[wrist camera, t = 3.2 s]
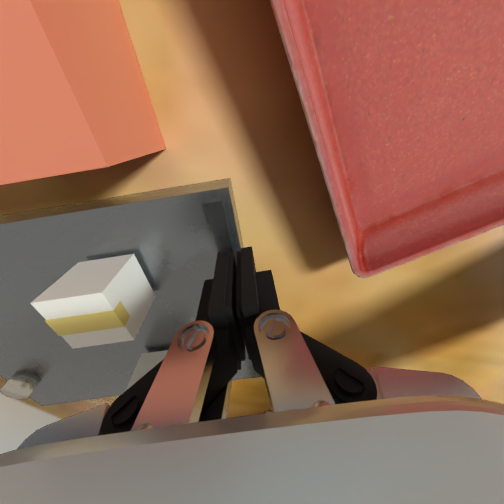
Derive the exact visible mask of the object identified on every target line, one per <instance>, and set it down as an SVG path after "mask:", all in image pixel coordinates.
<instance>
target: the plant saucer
mask: <svg viewBox="0 0 504 504" xmlns="http://www.w3.org/2000/svg"><path fill="white" fill-rule="evenodd" d="M270 3H271V6H272V10H273V13H274V16H275V19H276V23H277V26H278V29H279V33H280V36H281V39H282V43H283V46H284V49H285V52H286V55H287V58H288V61H289V64H290V68H291V72H292V75H293V78H294V81H295V84H296V87H297V90H298V94H299V97H300V100H301V104H302V107H303V111H304V114H305V117H306V121H307V124H308V127H309V130H310V134H311V137H312V140H313V143H314V147H315V150H316V154H317V157H318V160H319V163H320V166H321V170H322V173H323V177H324V180H325V183H326V186H327V189H328V193H329V196H330V200H331V203H332V206H333V209H334V213H335V216H336V219H337V222H338V225H339V229H340V233H341V236H342V239H343V242H344V246H345V249H346V253H347V256H348V259H349V263H350V266H351V269H352V271H353V273H354V274H356V275H357V276H358V277H361V278H367V277H370V276H373V275H376V274H378V273H381V272H384V271H386V270H389V269H391V268H394V267H396V266H399V265H402V264H405V263H407V262H410V261H413V260H415V259H417V258H420V257H422V256H425V255H427V254H430V253H432V252H435V251H438V250H440V249H443V248H446V247H448V246H450V245H453V244H455V243H458V242H460V241H463V240H466V239H469V238H471V237H474V236H477V235H479V234H482V233H485V232H487V231H489V230H491V229H494V228H496V227H499V226H502V225H504V0H270Z"/></svg>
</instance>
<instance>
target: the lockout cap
mask: <svg viewBox="0 0 504 504" xmlns="http://www.w3.org/2000/svg"><path fill="white" fill-rule="evenodd" d="M164 149H166V147H165V144H164V141H163V138H162V135H161V132H160V128H159V125H158V122H157V119H156V116H155V113H154V110H153V107H152V104H151V101H150V97H149V94H148V91H147V88H146V85H145V82H144V79H143V76H142V73H141V69H140V66H139V63H138V60H137V57H136V54H135V51H134V48H133V45H132V41H131V38H130V35H129V32H128V29H127V26H126V23H125V20H124V17H123V14H122V10H121V7H120V4H119V1H118V0H0V185H3V184H9V183H15V182H21V181H27V180H33V179H39V178H45V177H51V176H57V175H63V174H69V173H75V172H81V171H87V170H93V169H98V168H104V167H109V166H112V165H116V164H119V163H122V162H125V161H129V160H132V159H135V158H138V157H141V156H145V155H148V154H151V153H154V152H158V151H161V150H164Z"/></svg>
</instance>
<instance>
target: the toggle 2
mask: <svg viewBox="0 0 504 504" xmlns="http://www.w3.org/2000/svg"><path fill="white" fill-rule="evenodd" d="M167 352H168V350H164V351H157V352H150V353H143V354H141V356H140V358H139V360H138V363H137V365H136V367H135V370H134V372H133V374H132V376H131V379H130V381H129V383H128V386H127V388H126V390H127V389H129V388H130V387H131V386H132V385H133V384H135V383H136V382H137V381H138V380H139V379H140V378H142V377H143V376H144V375H145V374H146V373H148V372H149V371H150V370H151V369H152V368H153V367H155V366H156V365H157V364H158V363H159V362H161V361H162V360H163V359H164V358H165V356H166V354H167ZM126 390H125V391H126Z"/></svg>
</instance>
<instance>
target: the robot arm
mask: <svg viewBox="0 0 504 504" xmlns="http://www.w3.org/2000/svg"><path fill="white" fill-rule="evenodd" d="M245 346H246V350H247V354H248V357H249V360H251V361H252V365H253V369H254V371H256V372H257V373H258V374H259V375H261V376H262V377H263V378H264V380H265V384H266V388H267V392H268V396H269V400H270V404H271V408H272V413H264V414H256V415H249V416H241V417H233V418H226V417H227V411H228V405H229V399H230V393H231V387H232V380H231V379H232V378H233V377H234V376H235V374H236V373H237V370H241V361H245V360H246V353H245ZM0 504H504V404H501V403H498V402H493V401H488V400H482V398H481V397H480V396H479V395H478V394H477V392H476V391H475V390H474V389H473V388H472V387H471V386H469V385H468V384H467V383H465V382H464V381H463V380H461V379H458V378H456V377H454V376H452V375H449V374H445V373H439V372H428V371H417V370H406V369H395V368H385V367H374V370H372V369H365V368H363V367H362V366H361V365H359V364H358V363H356V362H354V361H352V360H351V359H349V358H347V357H345V356H343V355H342V354H340V353H338V352H336V351H334V350H333V349H331V348H329V347H327V346H325V345H324V344H322V343H320V342H318V341H316V340H315V339H313V338H311V337H309V336H308V335H306V334H304V333H302V332H300V331H299V329H298V327H297V325H296V323H295V320H294V319H293V318H292V316H291V315H290V314H288V313H287V312H285V311H282V310H280V307H279V303H278V299H277V294H276V290H275V285H274V281H273V276H272V272H271V270H268V271H261V272H256V269H255V263H254V257H253V251H252V247H246V248H241V251H239V252H237V264H236V259H235V255H234V252H232V253H230V251H229V250H226V251H220V252H218V253H217V259H216V265H215V271H214V277H213V279H208V280H205V281H204V284H203V289H202V293H201V298H200V302H199V307H198V311H197V316H196V320H195V321H193V322H191V323H188V324H186V325H185V326H183V327H182V328H181V329H180V330H179V331H178V332H177V334H176V335H175V337H174V339H173V341H172V343H171V345H170V347H169V349H168V352H167V354H166V356H165V358H164V359H163V360H162V361H161V362H159V363H158V364H157V365H156V366H155V367H153V368H152V369H151V370H150V371H149V372H148V373H146V374H145V375H144V376H143V377H142V378H140V379H139V380H138V381H137V382H136V383H135V384H133V385H132V386H131V387H130V388H129V389H127V390H126V391H125V392H124V393H123V394H121V395H120V396H119V397H118V398H117V399H116V400H115V401H114V402H113V403H112V405H108V404H107V403H105V404H103V405H100V406H97V407H95V408H92V409H89V410H87V411H84V412H81V413H78V414H76V415H73V416H70V417H68V418H65V419H62V420H60V421H57V422H54V423H52V424H49V425H46V426H44V427H42V428H40V429H38V430H37V431H35V432H34V433H33V434H31V435H30V436H29V437H28V438H27V439H26V440H25V441H24V442H23V443H22V444H21V445H20V446H19V447H18V448H17V450H13V451H10V452H6V453H3V454H0Z"/></svg>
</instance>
